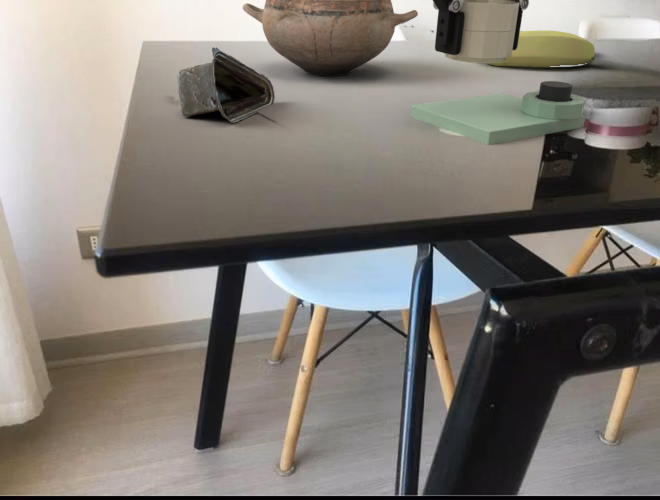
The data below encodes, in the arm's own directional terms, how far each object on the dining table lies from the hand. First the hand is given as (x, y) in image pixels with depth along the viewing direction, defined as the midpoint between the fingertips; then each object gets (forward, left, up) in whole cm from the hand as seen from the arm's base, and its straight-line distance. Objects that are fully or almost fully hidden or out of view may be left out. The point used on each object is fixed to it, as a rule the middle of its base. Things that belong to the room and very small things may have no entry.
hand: (476, 49), depth 65 cm
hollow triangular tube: (+22, -16, -8) cm, 28 cm away
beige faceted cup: (0, 0, -1) cm, 1 cm away
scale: (-2, +2, -8) cm, 8 cm away
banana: (-34, -23, -8) cm, 42 cm away
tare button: (-7, +6, -5) cm, 10 cm away
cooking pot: (-1, -31, -8) cm, 32 cm away
